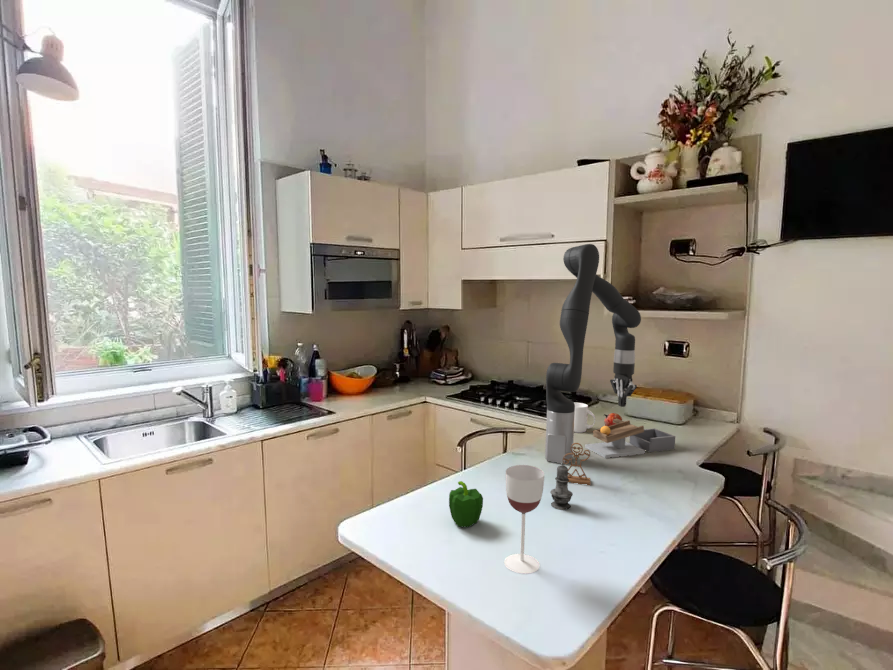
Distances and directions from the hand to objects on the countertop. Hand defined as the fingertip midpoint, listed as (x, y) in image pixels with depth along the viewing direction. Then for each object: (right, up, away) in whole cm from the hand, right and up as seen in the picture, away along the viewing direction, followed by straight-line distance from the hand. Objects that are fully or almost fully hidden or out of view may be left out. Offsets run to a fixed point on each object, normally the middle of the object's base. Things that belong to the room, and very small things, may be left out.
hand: (621, 406), depth 187 cm
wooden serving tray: (-5, -9, -5) cm, 11 cm away
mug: (-12, -13, +16) cm, 24 cm away
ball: (-10, -7, -11) cm, 16 cm away
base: (-6, -15, -9) cm, 18 cm away
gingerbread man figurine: (-28, -18, -38) cm, 50 cm away
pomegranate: (+3, -13, +18) cm, 23 cm away
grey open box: (+10, -15, -3) cm, 18 cm away
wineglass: (-51, -22, -83) cm, 100 cm away
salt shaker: (-36, -19, -55) cm, 68 cm away
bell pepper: (-62, -20, -65) cm, 92 cm away
